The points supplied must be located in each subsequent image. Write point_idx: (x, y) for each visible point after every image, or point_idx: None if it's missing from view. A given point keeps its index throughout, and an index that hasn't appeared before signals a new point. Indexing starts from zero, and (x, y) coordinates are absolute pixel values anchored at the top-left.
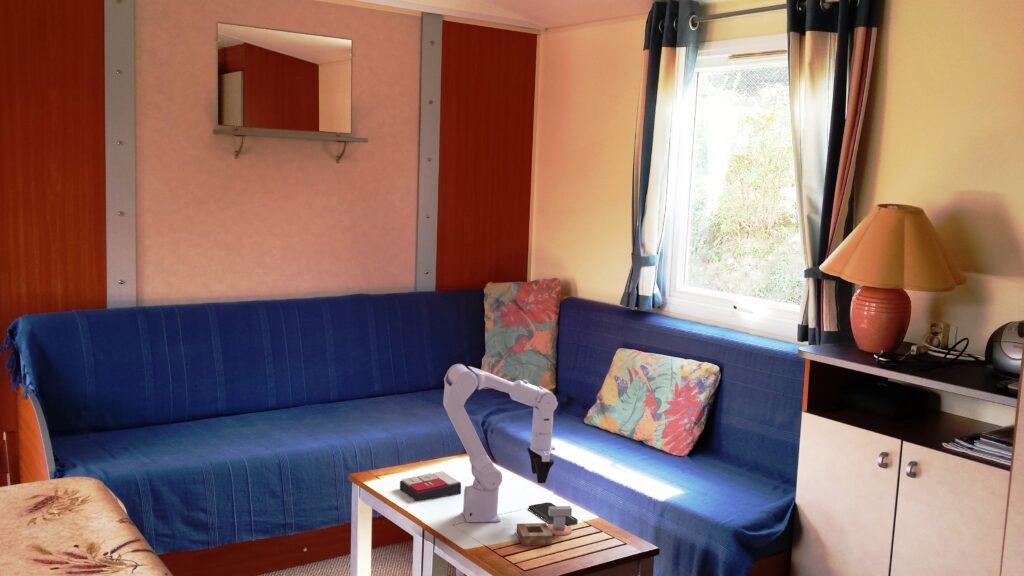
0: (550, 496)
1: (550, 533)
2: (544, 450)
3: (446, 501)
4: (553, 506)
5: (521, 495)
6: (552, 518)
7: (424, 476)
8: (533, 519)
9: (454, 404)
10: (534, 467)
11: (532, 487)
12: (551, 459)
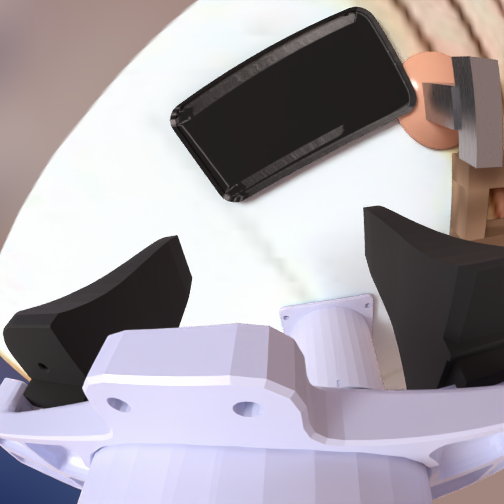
0: (87, 118)
1: None
2: (434, 471)
3: None
4: (478, 144)
5: (111, 224)
6: (352, 109)
7: None
8: (344, 183)
9: None
10: (176, 297)
11: (38, 190)
12: (482, 291)
